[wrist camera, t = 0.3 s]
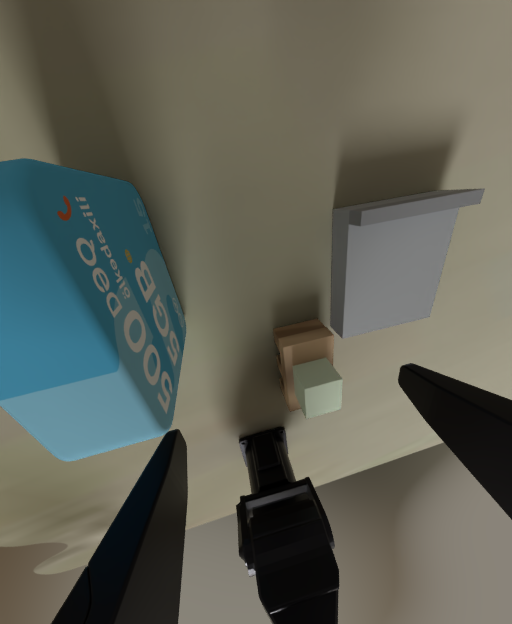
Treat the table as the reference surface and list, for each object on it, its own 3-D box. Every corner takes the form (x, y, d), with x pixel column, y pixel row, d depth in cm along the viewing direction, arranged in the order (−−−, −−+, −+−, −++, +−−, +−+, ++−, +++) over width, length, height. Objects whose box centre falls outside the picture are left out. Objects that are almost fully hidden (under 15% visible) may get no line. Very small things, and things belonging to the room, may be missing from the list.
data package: (188, 325, 21) (170, 449, 11) (140, 336, 21) (72, 477, 10) (136, 182, 15) (-13, 144, 5) (68, 193, 15) (-258, 178, 4)
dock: (410, 307, 26) (442, 323, 22) (330, 326, 25) (350, 347, 21) (435, 190, 20) (484, 188, 16) (332, 209, 19) (361, 211, 15)
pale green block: (325, 386, 24) (340, 409, 21) (294, 394, 23) (306, 419, 21) (326, 357, 22) (342, 379, 19) (292, 366, 21) (304, 389, 19)
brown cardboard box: (318, 378, 28) (331, 399, 25) (280, 388, 27) (289, 411, 24) (317, 317, 24) (333, 335, 21) (272, 328, 23) (282, 347, 20)
